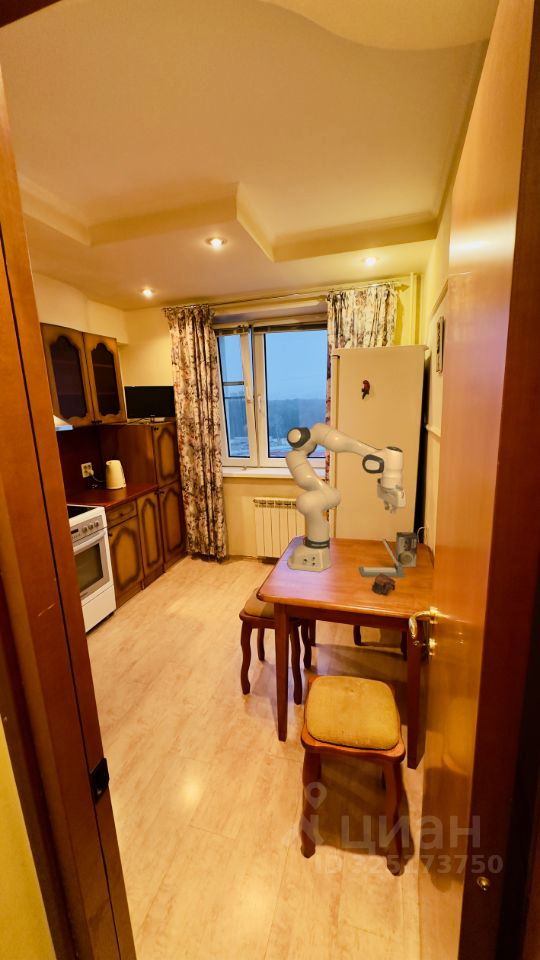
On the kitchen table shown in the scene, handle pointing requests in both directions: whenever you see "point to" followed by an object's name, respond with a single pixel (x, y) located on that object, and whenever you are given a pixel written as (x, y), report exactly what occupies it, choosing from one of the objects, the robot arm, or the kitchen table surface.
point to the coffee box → (406, 549)
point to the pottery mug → (386, 584)
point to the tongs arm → (390, 552)
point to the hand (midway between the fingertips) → (389, 511)
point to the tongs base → (382, 571)
